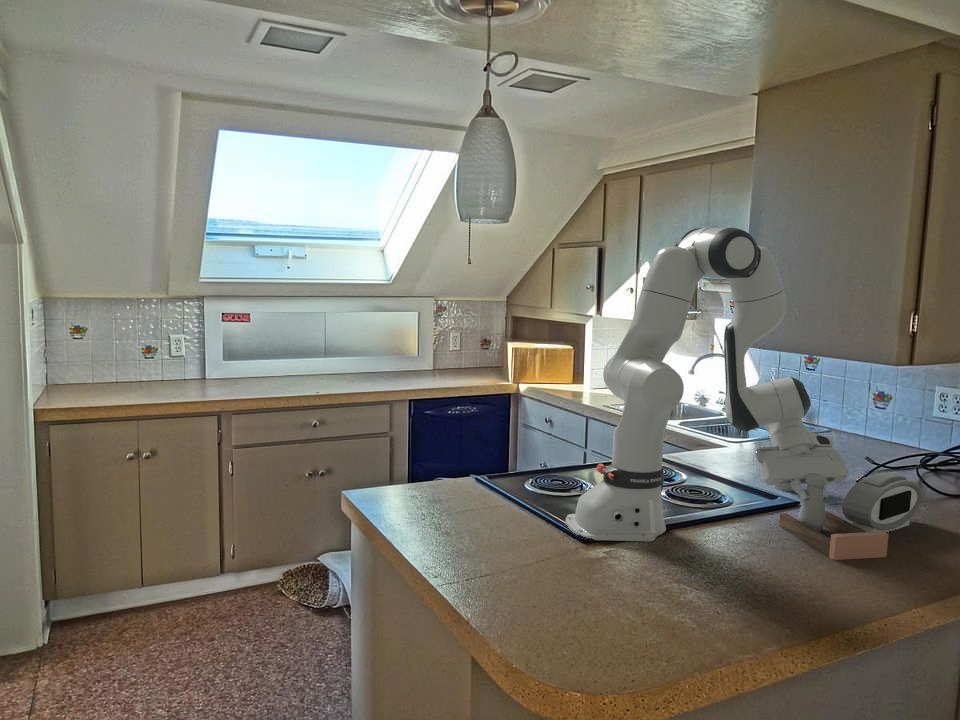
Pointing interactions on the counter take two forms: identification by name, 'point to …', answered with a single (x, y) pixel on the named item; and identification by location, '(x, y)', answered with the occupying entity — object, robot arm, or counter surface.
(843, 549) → the block
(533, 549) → the counter surface
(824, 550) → the walnut channel
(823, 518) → the salt shaker
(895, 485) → the alarm clock
